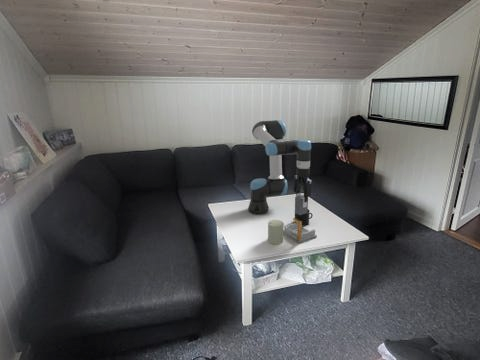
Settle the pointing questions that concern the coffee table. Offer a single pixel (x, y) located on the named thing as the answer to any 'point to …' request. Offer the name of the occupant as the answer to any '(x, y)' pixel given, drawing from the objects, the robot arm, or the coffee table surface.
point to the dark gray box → (300, 206)
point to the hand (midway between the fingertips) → (301, 205)
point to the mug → (303, 218)
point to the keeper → (298, 232)
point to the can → (275, 232)
